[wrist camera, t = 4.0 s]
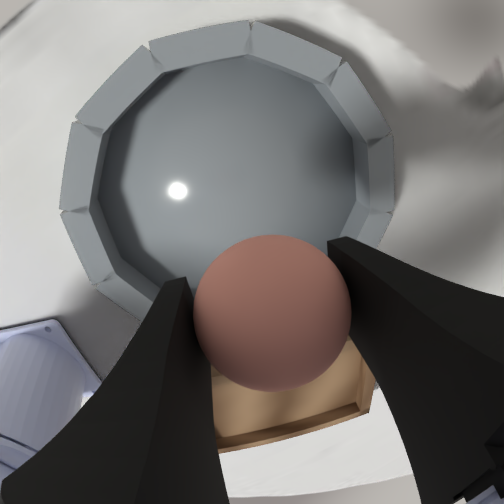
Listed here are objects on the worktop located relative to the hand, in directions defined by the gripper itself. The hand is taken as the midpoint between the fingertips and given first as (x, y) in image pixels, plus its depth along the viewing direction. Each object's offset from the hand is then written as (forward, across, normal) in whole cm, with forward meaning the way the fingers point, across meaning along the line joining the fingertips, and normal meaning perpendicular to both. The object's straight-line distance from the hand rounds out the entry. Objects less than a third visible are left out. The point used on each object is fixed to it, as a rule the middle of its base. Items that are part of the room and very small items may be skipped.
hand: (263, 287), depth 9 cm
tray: (+8, 0, +17) cm, 19 cm away
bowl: (+8, 0, 0) cm, 8 cm away
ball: (+1, 0, 0) cm, 1 cm away
